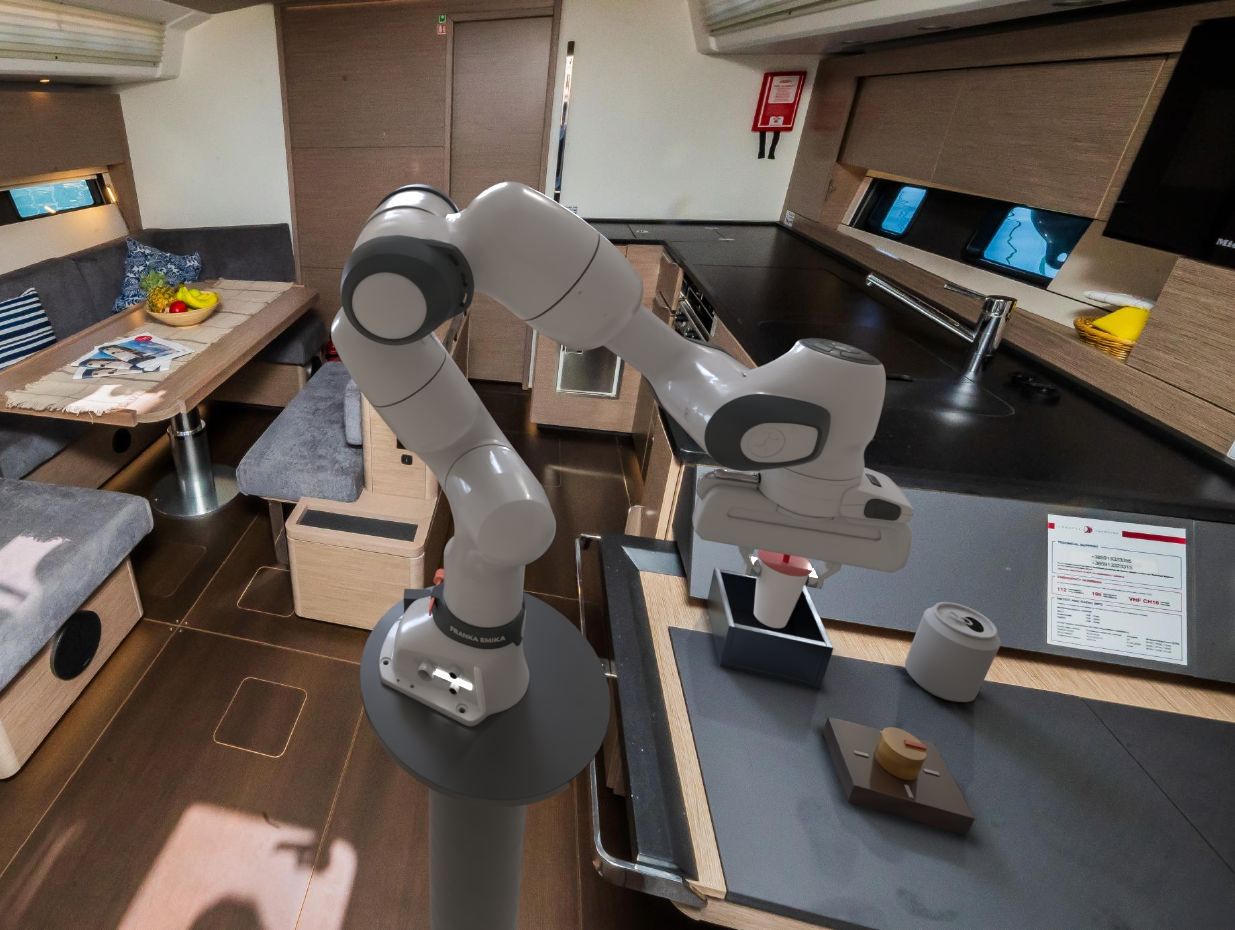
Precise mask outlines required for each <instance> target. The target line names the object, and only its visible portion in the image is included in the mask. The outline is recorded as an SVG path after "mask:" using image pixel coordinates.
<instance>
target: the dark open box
mask: <svg viewBox="0 0 1235 930" xmlns="http://www.w3.org/2000/svg"><path fill="white" fill-rule="evenodd" d="M756 580H757V577H753V576H749V575H744V572H740V571H735V570H729V569H723V568H720V567H719V568H718V567H713V571H712V576H711V580H710V585H709V589H708V595H707V600H706V609H707V614H708V619H709V622H710V627H711V632H712V636H713V640H714V646H715V650H716V654H717V659H718V664H719V666H721V667H724V668H725V667H726V668H729V669H733V670H736V671H737V670H738V671H742V672H746V673H751V674H754V675H759V676H763V677H766V678H772V679H776V680H780V681H785V682H788V683H792V684H796V685H801V686H806V687H811V688H814V689H819V690H821V688H822V685H823V682H824V679H825V676H826V673H827V670H828V666H829V663H830V661H831V658H832V654H833V651H834V649H835V648H834V646H833V643H832V641H831V639H830V637H829V635H828V633H827V630H826V628H825V625H824V623H823V621H822V619H821V617H820V615H819V612H818V610H817V608H816V605H815V603H814V600H813V599H812V596H811V594H810V591H809V590H808V587H807V586H805V585H804V587H803V589H802V592H801V594H800V596H799V598H798V600H797V603H796V605H795V607H794V609H793V611H792V613H791V616H790V617H789V620H788V622H787V624H786V626H785V627H783V628H773V627H769V626H767V625H765V624H763V623H761V622H760V621H759V620H758V619H757V618H756V617H755V615H754V603H755V591H756Z"/></svg>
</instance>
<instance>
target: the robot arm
mask: <svg viewBox="0 0 1235 930" xmlns="http://www.w3.org/2000/svg"><path fill="white" fill-rule="evenodd" d="M475 294H479V295H484V296H487V297H488V298H491V299H493V300H494V301H496V302H497V303H499V304H500V305H502V306H503V307H504V308H506V309H507V311H510V312H511V314H513V315H514V316H515V317H517V318H518V319H520V320H521V321H522V322H524V323H525V324H526V325H528V326H529V327H530V328H532V329H533V330H535V331H536V332H537V333H539V334H541V335H542V336H544V337H545V338H548V339H549V340H551V341H553V342H555V343H557V344H559V345H561V346H563V347H565V348H567V349H570V350H572V351H574V352H583V351H585V352H586V351H590V350H594V349H597V348H600V347H605V348H606V349H607V350H609V351H610V352H611V353H613V354H615V355H616V356H617V357H618V358H620V359H621V360H622V361H624V362H625V363H626V364H628V365H629V366H630V367H631V368H633V369H634V370H636V371H637V372H638V373H640V375H642V377H643V378H644V380H645V382H646V384H647V387H648V389H649V391H650V394H651V396H652V398H653V400H654V401H655V403H656V404H657V405H658V406H659V407H660V408H661V409H662V410H663V411H665V413H667V414H668V415H669V416H670V417H671V418H673V420H674V421H676V422H677V424H678V425H679V426H680V427H681V428H682V429H683V430H684V431H685V432H686V433H687V434H688V435H689V436H690V438H691V439H692V440H693V441H694V442H695V443H696V444H697V445H698V446H699V447H700V448H701V449H702V450H703V451H704V452H705V453H706V454H707V455H708V456H709V457H710V458H712V459H713V460H714V461H715V462H716V463H718V464H719V465H720V466H722V467H725V468H714V469H713V470H709V471H706V472H704V473H702V474H700V475H699V477H698V479H697V482H696V483H697V484H696V490H695V491H696V495H697V499H696V501H695V505H694V509H693V512H692V516H691V517H692V518H691V519H692V526H693V530H694V532H695V533H696V535H697V536H698V537H699V539H700V540H703V541H706V542H712V543H719V544H724V545H730V546H735V547H738V548H737V549H738V551H739V554H740V555H741V558H742V560H743V561H742V565H741V566H742V573H744V575H749V576H753V577H759V575H760V574H759V572H760V571H761V565H760V564H759V560H758V559H759V557H757V556H751V555H753V554H754V552H755V550H757V551H758V550H764V551H769V552H775V553H781V554H787V555H792V556H798V557H804V558H807V559H810V560H814V561H815V560H816V561H819V562H817V563H816V564H815V565H813V566H812V567H813V571H812V572H811V573H810V574H809V576H808V578H807V580H806V583H805V586H806V587H807V588H813V589H818V590H822V588H823V585H824V582H825V580H827V579H828V578H830V577H832V576H833V575H835V574H837V573H838V572H840V571H841V568H842V566H843V565H845V566H850V567H855V568H862V569H868V570H874V571H878V572H884V573H891V574H893V573H896V572H898V571H900V570H902V569H904V568H905V567H906V565H907V563H908V560H909V557H910V553H911V550H912V543H913V530H912V528H911V526H910V525H909V522H910V521H911V520H912V519H913V517H914V514H915V509H914V507H913V506H912V504H911V502H910V500H909V498H908V497H907V496H906V494H905V493H904V492H903V491H902V489H901V488H900V487H899V486H898V485H897V484H896V483H895V482H894V481H893V480H892V479H891V478H890V477H889V476H888V475H885V474H884V473H882V472H879V471H875V470H873V469H870V468H868V467H865V466H866V465H865V450H866V448H867V447H868V445H869V444H870V443H871V441H872V440H873V438H875V435H876V431H877V428H878V425H879V422H880V418H881V415H882V410H883V407H884V401H885V394H886V387H887V386H886V385H887V377H886V376H887V375H886V369H885V366H884V364H883V363H882V362H881V361H880V360H879V359H878V358H877V357H875V356H874V355H872V354H870V353H868V352H866V351H864V350H863V349H860V348H858V347H856V346H853V345H849V344H845V343H842V342H840V341H836V340H831V339H826V338H815V337H809V338H802V339H799V340H797V341H796V342H795V344H794V345H793V346H792V347H791V349H790V350H789V351H787V352H786V353H784V354H782V355H781V356H779V357H777V358H775V360H772V361H770V362H768V363H766V364H763V365H761V366H758V367H756V368H755V367H754V368H752V369H750V368H749V367H748V366H746V365H744V364H743V363H742V362H740V361H738V360H737V359H736V358H735V356H734V355H732V354H731V353H729V352H728V351H727V350H726V349H724V348H723V347H721V346H720V345H718V344H715V343H713V342H709V341H705V340H700V339H696V338H692V337H687V336H683V335H681V334H680V333H679V332H677V331H676V330H674V329H673V328H672V327H671V326H670V325H668V324H667V323H666V322H665V321H664V320H663V319H661V318H660V317H659V316H657V315H656V314H655V313H654V312H652V311H651V310H650V309H649V308H647V306H645V305H644V304H643V303H642V301H643V296H644V283H643V279H642V277H641V276H640V274H639V273H638V271H637V270H636V269H635V267H634V266H633V265H632V263H631V262H630V261H629V260H628V259H627V258H626V257H625V255H624V254H623V253H622V252H621V251H620V250H619V249H618V248H617V247H616V246H615V244H613V243H612V242H611V241H610V240H609V239H607V238H606V237H605V236H604V235H603V234H602V233H601V232H599V231H598V230H596V229H595V228H594V227H593V226H592V225H590V224H589V223H588V222H587V221H585V220H584V219H583V218H582V217H580V216H578V215H577V214H575V212H573V211H571V210H570V209H568V208H567V207H565V206H564V205H562V204H560V203H559V202H557V201H556V200H554V199H553V198H550V197H548V196H547V195H545V194H544V193H541V192H540V191H538V190H535V189H534V188H531V187H530V186H528V185H526V184H524V183H521V182H519V181H503V182H499V183H496V184H494V185H492V186H490V187H488V188H486V189H485V190H483V191H481V193H479V194H477V196H475V198H474V199H472V201H471V202H470V203H469V204H468V205H467V207H466V208H463V209H462V210H461V211H460V210H459V208H458V206H457V205H456V203H455V201H454V200H453V199H452V198H451V197H450V196H449V195H448V194H446V193H445V192H444V191H442V190H441V189H439V188H437V187H436V186H435V187H434V186H432V185H428V184H422V183H416V184H409V185H404V186H401V187H398V188H397V189H395V190H393V191H391V192H390V193H389V194H387V195H386V196H385V197H384V198H383V199H381V201H380V202H379V203H378V205H377V206H376V207H375V209H374V211H373V212H372V213H371V215H370V216H369V217H368V218H367V220H366V221H365V223H364V224H363V225H362V227H361V229H360V230H359V233H358V235H357V238H356V241H355V244H354V247H353V248H352V251H351V253H350V254H349V256H348V258H347V260H346V261H345V264H344V267H343V270H342V274H341V279H340V301H341V307H340V309H339V310H338V311H337V313H336V315H335V317H334V319H333V320H332V323H331V329H330V336H331V342H332V345H333V347H334V348H335V350H336V352H337V354H338V356H339V359H340V360H341V362H342V364H343V366H344V369H346V371H347V373H348V375H349V376H350V378H351V379H352V381H353V382H354V384H355V385H356V387H357V389H358V390H359V391H360V392H361V394H362V395H363V396H364V398H365V400H366V401H367V402H368V403H369V405H370V406H371V407H372V408H373V409H374V411H375V412H376V414H377V415H378V416H379V417H380V418H381V419H382V421H383V422H384V423H385V424H386V426H387V427H388V428H389V429H390V430H391V432H392V433H393V435H394V436H395V437H396V438H397V440H398V441H399V442H400V443H401V444H402V446H403V447H404V448H405V449H406V450H407V451H408V452H411V453H412V454H415V456H417V457H418V458H419V459H420V460H421V461H422V462H423V463H424V464H425V465H426V467H428V469H429V470H430V471H431V472H432V474H433V475H434V477H435V478H436V480H437V482H438V483H439V486H440V487H441V489H442V491H443V493H444V494H445V497H446V499H447V500H448V504H449V506H450V510H451V514H452V519H453V524H454V533H453V536H452V537H451V538H450V539H449V540H448V541H447V543H446V545H445V547H444V550H443V568H439V569H438V568H437V570H436V572H435V575H434V577H433V583H434V586H435V585H436V586H435V587H434V588H433V590H432V592H431V590H424V589H425V588H422V589H421V588H404V589H403V599H404V615H402V616H401V617H400V618H399V619H398V620H397V621H396V622H395V623H394V625H393V626H392V627H391V629H390V631H389V632H388V634H387V636H386V639H385V641H384V644H383V647H382V650H381V654H380V661H379V673H380V678H381V681H382V682H383V683H384V684H386V685H388V686H389V687H391V688H393V689H395V690H397V691H399V692H401V693H403V694H405V695H407V696H409V697H411V698H413V699H415V700H417V701H419V702H421V703H423V704H425V705H427V706H429V707H431V708H433V709H435V710H437V711H439V712H441V713H443V714H445V715H446V716H448V717H450V718H452V719H454V720H456V721H458V722H460V723H462V724H464V725H466V726H475V725H477V724H479V723H480V722H481V721H482V720H484V719H485V718H486V717H487V716H489V715H491V714H494V713H498V712H501V711H504V710H507V709H509V708H511V707H512V706H514V705H515V704H517V703H518V702H519V701H520V700H521V699H522V697H523V696H524V694H525V692H526V690H527V688H528V684H529V670H528V666H527V663H526V660H525V656H524V651H523V643H522V639H523V636H524V631H525V620H526V609H525V599H524V596H523V592H524V586H525V585H524V584H525V572H526V565H529V564H531V563H533V562H535V561H537V560H538V559H539V558H540V557H542V556H543V555H544V554H545V553H546V552H547V551H548V549H549V548H550V546H551V545H552V543H553V541H554V539H555V536H556V531H557V521H556V517H555V515H554V512H553V508H552V507H551V504H550V503H551V502H550V500H549V498H548V496H547V494H546V491H545V489H544V487H543V485H542V484H541V482H539V480H538V478H537V477H536V476H535V475H534V473H533V472H532V471H531V469H530V468H529V467H528V465H527V464H526V463H525V461H524V460H523V458H522V457H521V456H520V455H519V453H518V452H517V451H516V449H515V447H513V445H512V444H511V442H510V441H509V440H508V439H507V437H506V436H505V434H504V433H503V431H502V429H500V427H499V426H498V424H497V423H496V421H495V420H494V418H493V417H492V415H491V413H490V412H489V411H488V409H487V408H486V406H485V404H484V403H483V401H482V400H481V398H480V397H479V395H478V394H477V392H476V390H474V388H473V386H472V385H471V384H470V382H469V381H468V379H467V378H466V377H465V375H464V373H463V372H462V370H461V368H459V366H458V365H457V363H456V362H455V361H454V359H453V357H452V356H451V355H450V353H449V352H448V350H447V349H446V347H445V346H444V345H443V343H442V342H441V340H440V339H439V338H438V335H436V333H435V332H434V331H436V330H437V329H439V328H440V327H441V326H442V325H444V323H445V322H447V321H449V320H451V319H453V318H455V317H457V316H459V315H460V314H463V313H464V312H465V311H467V310H468V309H469V308H470V307H471V305H472V302H473V300H474V295H475ZM465 297H466V298H465ZM464 300H465V301H464ZM729 469H730V470H729ZM756 471H758V472H757V473H756ZM384 664H388V665H384ZM460 711H463V712H465V713H460Z"/></svg>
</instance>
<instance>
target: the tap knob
mask: <svg viewBox="0 0 1235 930" xmlns="http://www.w3.org/2000/svg"><path fill="white" fill-rule="evenodd" d="M882 730H883V731H882V733H881V736H880V738H879V741H878V743H877V746H876V748H875V751H874V755H875V758H876V760H877V761H878V763H879V764H880V765H881V766H882V767H883V768H884V769H885V770H886V771H888V772H889V773H891V774H892V775H894V776H896V777H898V778H901V779H904V780H914V779H916V778H917V777H918V774H919V772H920V770H921V768H922V765H923V763H924V761H925V759H926V757H927V752H926V749H927V748H926V746H925V745H924V744H922V743H921V742H920V741H919V740H918V739H919V738H917V737H916V736H914V735H913V734H911V733H910V732H908V731H906V730H904V729H902V728H900V727H895V726H887V727H884V728H883V729H882Z"/></svg>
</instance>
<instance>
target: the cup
mask: <svg viewBox="0 0 1235 930" xmlns="http://www.w3.org/2000/svg"><path fill="white" fill-rule="evenodd" d="M757 555H758V560H759V564H760V565H761V571H760V572H759V574H760V575H759V577H757V580H756V591H755V603H754V615H755V617H756V618H757V619H758V620H759V621H760V622H761V623H763V624H765V625H767V626H769V627H773V628H783V627H785V626H786V624H787V622H788V620H789V617H790V616H791V613H792V611H793V609H794V607H795V605H796V603H797V600H798V598H799V596H800V594H801V592H802V589H803V587H804V585H805V583H806V580H807V578H808V576H809V574H810V573H811V572H812V571H813V567H814V566H813V564H812V562H811V561H810V560H809V558H804V557H798V556H792V555H787V554H781V553H775V552H769V551H764V550H758V549H757Z"/></svg>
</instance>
